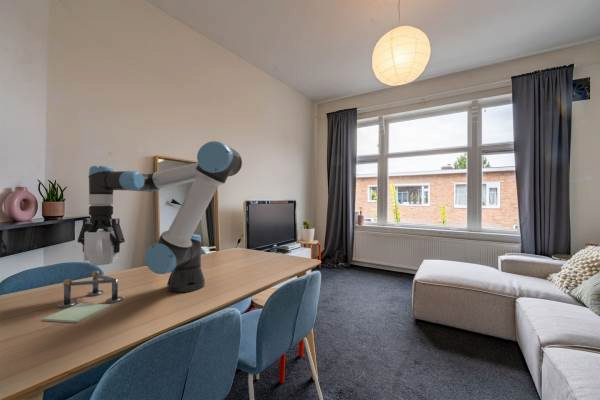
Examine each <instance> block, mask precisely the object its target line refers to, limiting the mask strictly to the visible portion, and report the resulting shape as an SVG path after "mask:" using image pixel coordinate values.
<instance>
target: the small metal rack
mask: <svg viewBox="0 0 600 400" xmlns="http://www.w3.org/2000/svg"><path fill="white" fill-rule="evenodd" d="M91 276H92V280H83V281H73V280H72V279H71V278H66V279H64V280H63V282H62V285H63V302H61V303H59V304H57V309H67V308H69V307H72V306H74V305H77V304H78V302H77V301H76V300H72V298H71V297H72V295H71V293H72V292H71V291H72V287H73V286H74V287H75V286H85V285H92V290H91V291H89V292H87V294H86V295H87V297H97V296H100V295H103V294H104V290H102V289H100V290H99V284H111V297H109V298H107V299H106V300H105V302H106V303H107V304H115V303H120V302H121V301H123V300H124V298H123V296H121V295H120V296H119V293H118V292H119V278H115V277H111V276H107V275H103V274H100V271H99V270H93V271H92V273H91ZM102 293H103V294H102Z"/></svg>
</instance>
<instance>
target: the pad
mask: <svg viewBox="0 0 600 400" xmlns="http://www.w3.org/2000/svg"><path fill="white" fill-rule="evenodd" d="M111 306H112V305H111V304H105V303H104V304H102V303H101V304H99V303H85V302H84V303H83V302H79V303H77V304H76V305H74V306H71V307H67V308H64V309H63V310H62V309H61V310H60V311H58V312H55V313H52V314H50V315H48V316H45V317H43V318H42V321H43V322H59V323H73V324H79V323H80V322H82V321H84V320H86V319H88V318H90V317H92V316H95V315H97V314H99V313H100V312H103V311H105V310H107V309H108V308H111Z"/></svg>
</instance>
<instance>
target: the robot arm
mask: <svg viewBox="0 0 600 400" xmlns="http://www.w3.org/2000/svg"><path fill="white" fill-rule="evenodd" d="M196 155H197V156H196V159H197V162H194V163H193V162H192V163H190V164H185V165H181V166H177V167H172V168H168V169H164V170H160V171H155V172H150V173H141V172H139V171H134V170H125V171H124V170H120V171H118V170H117V171H114V168H113V167H111V166H107V165H92V166H90V167H89V172H88V204H89V206H88V215H89V216H90V217H88V218H86V217H85V218H83V219H82V226H81V228H80V229H81V230H80V232H79V235H78V237H77V238H78V239H77V243H80V244H81V245H82V252H83V262H89V261H88V259H87V256H86V253H85V244H84V243H85V242H84V233H85V232H86V231H88V233H94V232H97V230H104V231H105V232H111V231H114V234H111V233H110V240H111V242H112V243H113V244H112V245H111V262H113V263H114V262H118V261H119V253H120V252H121V251H120V250H121V246H120V245H121V244H123V243H125V242H126V239H125V237H124V234H123V231H122V228H121V225H120V221H121V220H120V218H113V217H112V215H113V214H114V206H113V204H114V191H130V192H132V191H133V192H148V193H154V192H158V191H160V190H161V189H166V188H170V187H174V186H179V185H183V184H188V183H192V184H191V186H190V188H189V189H188V192H187V194H186V196H185V197H184V200H183V201H182V202H181V203H182V204H181V205H180V206H179V207H180V208H179V209H178V211H177V213H176V214H175V217H174V218H173V221H172V223H171V224H170V226H169V228H168V230H165V231H163V232H161V234H160V236H159V238H158V239H157V242H156V243H153V244H151V245H150V246H148V248H147V249H146V251H145V254H144V261H145V263H146V266H147V268H148V269H149V270H150V271H151V272H152V273H155V274H156V275H165V274H169V273H170V275H169V278H168V281H167V285H166V289H167V291H169V292H171V293H189V292H192V291H197V290H200V289H202V288H203V287H204V286H205V285H206V279H205V276H204V273H203V270H202V237H201V235H200V234H194V232H195V231H196V230H197V228H198V225H199V223H200V221H201V220H202V218H203V217H204V214H205V212H206V210H207V208H208V206H209V204H210V202H211V200H212V199H213V197H214V195H215V193H216V191H217V189H218V188H219V186H221V185H224V184H225V183H226V181H227V179H228V178H229V177H233V176H235V175H237V174H238V173H239V172H240V170H241V169H242V166H243V160H242V157H241V155H240V153H239V152H238V151H237V150H235V149H234V148H232V147H230V146H229V145H227V144H226V143H223V142H220V141H217V140H213V141H212V140H211V141H208V142H206V143H204V144H203V145H202V146H200V148H199V149H198V151H197V154H196Z"/></svg>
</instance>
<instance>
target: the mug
mask: <svg viewBox="0 0 600 400" xmlns="http://www.w3.org/2000/svg"><path fill="white" fill-rule="evenodd" d="M110 233H111V234H114V231H111V232H105V231H104V230H103V229H99V230H97V232H94V233H88V231H86V232H85V233H84V242H85V243H84V244H85V253H86V256H87V259H88V261H87V262H89V264H90V265H91V266H104V265H105V266H106V265H109V264H113V263H114V262H111V245H112V244H113V243H112V242H111V240H110Z"/></svg>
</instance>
